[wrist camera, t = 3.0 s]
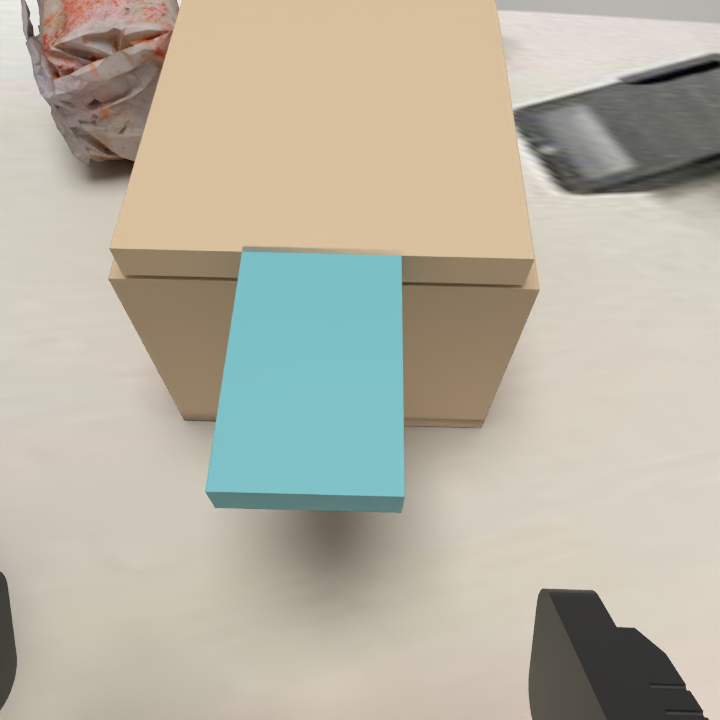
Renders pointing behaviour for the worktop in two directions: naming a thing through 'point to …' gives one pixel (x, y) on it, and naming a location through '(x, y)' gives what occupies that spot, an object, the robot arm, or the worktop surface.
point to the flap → (324, 219)
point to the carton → (419, 325)
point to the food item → (100, 69)
